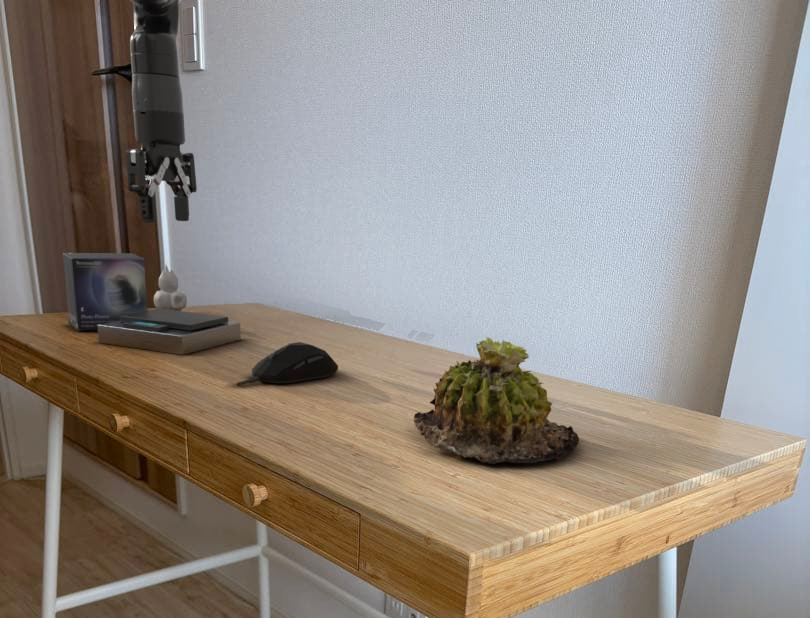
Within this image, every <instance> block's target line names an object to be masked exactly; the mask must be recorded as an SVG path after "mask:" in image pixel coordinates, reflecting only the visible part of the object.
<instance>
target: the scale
mask: <svg viewBox="0 0 810 618" xmlns="http://www.w3.org/2000/svg"><path fill="white" fill-rule="evenodd" d="M97 327H98V330H97V335H98V337H97V338H98V343H99V344H104V345H110V346H111V345H113V346H119V347H126V348H132V349H133V348H134V349H139V350H146V351H152V352H153V351H154V352H160V353H167V354H175V355H181V356H183V355H188V354H192V353H195V352H199V351H203V350H206V349H211V348H214V347H218V346H221V345H226V344H229V343H233V342H238V341H240V340H241V339H242V338H241V337H242V336H241V335H242V334H241V322H238V321H230V320H228V322H227V323H223V324H218V325H214V326H210V327H205V328H201V329H196V330H192V331H191V330H183V329H175V328H168V326H167V325H159V324H151V323H144V322H136V321H130V322H122V321H115V322H109V323H104V324H98V325H97Z"/></svg>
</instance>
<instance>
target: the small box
mask: <svg viewBox="0 0 810 618" xmlns="http://www.w3.org/2000/svg"><path fill="white" fill-rule="evenodd" d="M62 259H63V266H64V268H63V269H64V278H65V291H66V301H67V309H68V324H69V325H71V326H72V327H73V328H74V329H75V330H77V331H78V332H85V331H86V332H87V331H88V332H89V331H90V332H91V331H98V327H97V325H98V324H104V323H109V322H115V321H120V316H121V315H127V314H132V313H138V312H143V311H148V299H147V279H146V263H145V262H146V261H145V258H143V257H142V256H139V255H137V254H135V253H130V252H129V253H124V252H123V253H115V252H114V253H113V252H111V253H109V252H107V253H106V252H105V253H104V252H103V253H102V252H101V253H100V252H98V253H97V252H63V253H62Z"/></svg>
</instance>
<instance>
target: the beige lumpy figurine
mask: <svg viewBox="0 0 810 618" xmlns="http://www.w3.org/2000/svg"><path fill="white" fill-rule="evenodd" d="M158 288H159V289H160V290H157V291H156V292H155V294H154V295H153V304H154V307H155V309H168V310H176V311H183V309H185V308H186V307H187V304H188V298H187V295H186V293H184V292H181V291H179V290H178V288H179V278H178V276H177V275H176V273H175V271H174V270H173V269H171V270H169V268H168V265H167V264H165V269H163V270H162V272H161V274H160V276H159V277H158Z"/></svg>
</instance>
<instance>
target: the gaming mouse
mask: <svg viewBox="0 0 810 618" xmlns="http://www.w3.org/2000/svg"><path fill="white" fill-rule="evenodd" d="M338 370H339V365H338V364H337V362H336V361H335V360H334V359H333V357H332V356H331V355H329V353H328V352H327V351H326V350H324V349H322V348H319V347H317V346H315V345H313V344H309V343H305V342H301V341H298V342H290V343H288V344H286V345H284V346H282V347H280V348H278V349H277V350H275V351H273V352H271V353H270V354H268V355H266V356H265V357H264V358H262V359H260V360H259V361H258V362H257V363H256V364H255V366H253V368H252V370H251V377H249V378H248V379H246V380H242V381H238V382H236V386H237V387H239V386H243V385H247V384H254V383H256V382H259V381H261V382H265V383H272V384H290V383H298V382H303V381H309V380H315V379H323V378H327V377H329V376H332V375H334V374H336V373H337V371H338Z"/></svg>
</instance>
